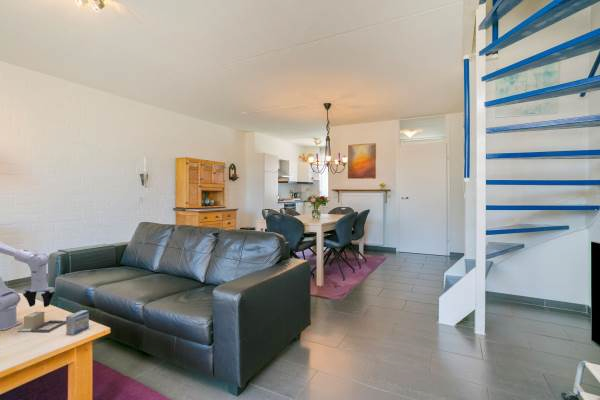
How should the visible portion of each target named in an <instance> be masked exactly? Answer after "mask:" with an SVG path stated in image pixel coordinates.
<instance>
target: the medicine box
mask: <svg viewBox="0 0 600 400" xmlns="http://www.w3.org/2000/svg"><path fill="white" fill-rule="evenodd" d="M89 317H90V311H89V310H86V309H85V310H84V309H81V310H79V311H75V313H72V314H69V315H66V317H65V321H66V326H65V327H66V329H65V330H66V332H65V333H66V335H70V336H71V335H72V336H76V335H77V334H78V333H79V334H80V333H81V332H83V331H85V330H87V329H89V327H90V318H89Z"/></svg>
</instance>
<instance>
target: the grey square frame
mask: <svg viewBox="0 0 600 400" xmlns="http://www.w3.org/2000/svg"><path fill="white" fill-rule="evenodd" d="M45 322H46V323H44V324H42V325H39V326H37V327H35V328H33V329H31V332H30V333H50V332H53V331H54V330H57V329H58V328H60V327H62V326H64V325H65V324H66V320H56V319H55V320H51V319H50V320H48V321H45ZM49 324H57V325H54V326H53V327H51V328H47V329H46V328H45V329H44V327H46V326H48V325H49ZM42 328H43V329H42Z"/></svg>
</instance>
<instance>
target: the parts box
mask: <svg viewBox="0 0 600 400" xmlns="http://www.w3.org/2000/svg"><path fill="white" fill-rule="evenodd" d="M45 322H46V320H45V311H34V312H31V313H30V314H27V315H25V316H24V317H23V328H24V329H33V328H35V327H37V326H39V325H42V324H44V323H45Z"/></svg>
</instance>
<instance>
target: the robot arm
mask: <svg viewBox="0 0 600 400" xmlns="http://www.w3.org/2000/svg"><path fill="white" fill-rule="evenodd" d="M0 254H3V255H8V256H11V257H13V258H14V260H15V261H19V262H21V263H24V264H27V266H28V267H29V270H30V277H31V278H30V279H31V281H30V282H31V286H26V287H24V288H23V293H22V295H23V297H24V298H25V299H26V301H27V304H28V305H29V308H30V307H31V308H32V307H33V306H35V305H36V297H37V294H38V293H41V294H40V296H41V297H42V301H43V303H42V304H43V307H44V308H46V307H49V306H50V304H51V301H52V299H53V296H54V295H55V292H56V290H55V289H56V288H55V287H52V286H48V283H47V265H48V264H49V263H50V257H49V255H47V254H45V253H40V254H39V253H38V252H33V251H30V250H29V249H27V248H21V249H17V248H15V247H13V246H10V245H8V244H5V243H3V242H2V241H0ZM20 295H21V294H19V293H18V292H16V291H15V289H14V288H10V287H7V285H6V284H5V281H4V280H3V279H2V277H1V276H0V331H7V330H10V329H12V328H13V327H15V326H18V325H20V324H22V321H18V320H17V307H18V304H19V303H20V302H21V298H22V297H21V296H20Z"/></svg>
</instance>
